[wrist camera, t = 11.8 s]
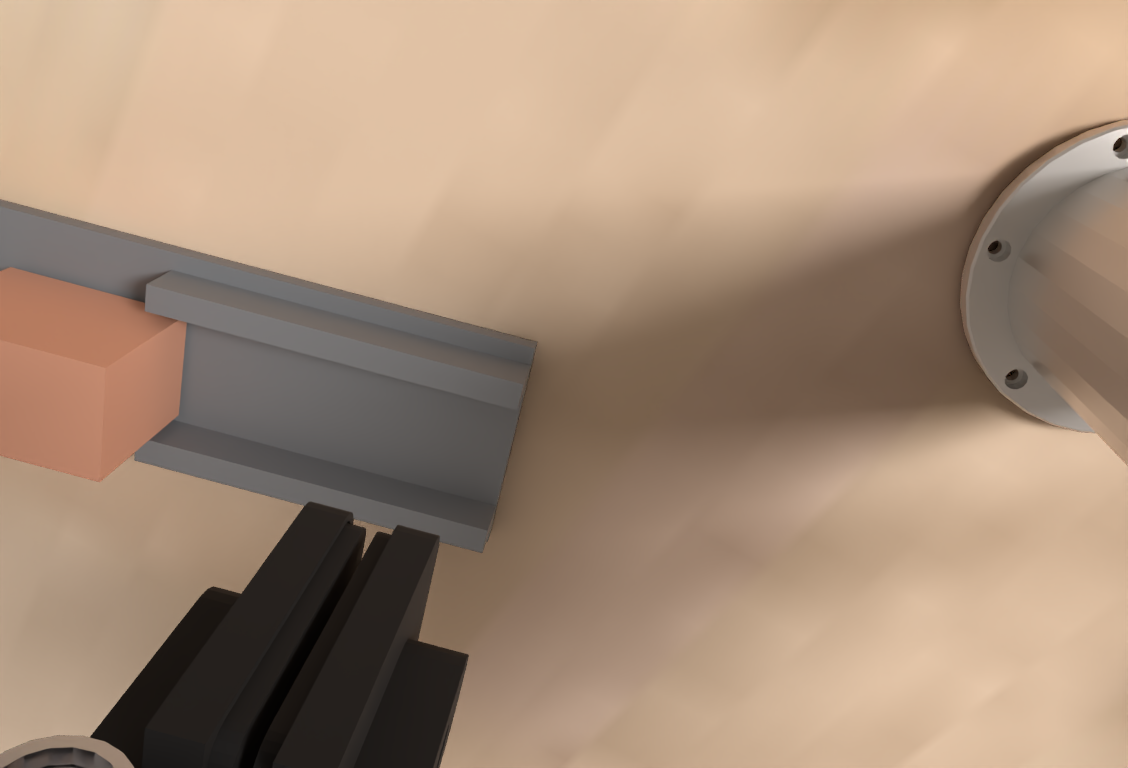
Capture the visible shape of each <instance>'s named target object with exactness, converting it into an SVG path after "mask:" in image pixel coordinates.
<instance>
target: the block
mask: <svg viewBox="0 0 1128 768" xmlns="http://www.w3.org/2000/svg"><path fill="white" fill-rule="evenodd" d="M186 326H187V322H183V321H179V320H176V319H172V318H168V317H164V316H161V315H157V314H153V313H149V312H146V311H145V303H144V302H140V301H136V300H132V299H129V298H125V297H121V296H117V295H114V294H110V293H106V292H102V291H99V290H95V289H91V288H87V287H84V286H80V285H76V284H72V283H69V282H65V281H61V280H57V279H54V278H50V277H46V276H42V275H39V274H35V273H31V272H27V271H24V270H20V269H16V268H12V267H9V268H7V269H4V270H2V271H0V456H4V457H8V458H11V459H15V460H19V461H23V462H26V463H30V464H34V465H38V466H41V467H45V468H49V469H53V470H56V471H60V472H64V473H68V474H71V475H75V476H79V477H82V478H86V479H90V480H94V481H97V482H100V481H102V480H103V479H104V478H105V477H106V476H108V475H109V474H110V473H111V472H112V471H113V470H115V469H116V468H117V467H118V466H119V465H120V464H122V463H123V462H124V461H125V460H126V459H128V458H129V457H130V456H131V455H132V454H133V453H135V452H136V451H137V450H138V449H139V448H140V447H142V446H143V445H144V444H145V443H146V442H148V441H149V440H150V439H151V438H152V437H153V436H155V435H156V434H157V433H158V432H159V431H160V430H162V429H163V428H164V427H165V426H166V425H168V424H169V423H170V422H171V421H172V420H173V419H175V418H176V417H177V416H178V415H179V406H180V395H181V383H182V372H183V360H184V349H185V338H186Z"/></svg>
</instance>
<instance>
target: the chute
mask: <svg viewBox="0 0 1128 768" xmlns="http://www.w3.org/2000/svg"><path fill="white" fill-rule="evenodd" d="M9 267H12V268H16V269H20V270H24V271H27V272H31V273H35V274H39V275H42V276H46V277H50V278H54V279H57V280H61V281H65V282H69V283H72V284H76V285H80V286H84V287H87V288H91V289H95V290H99V291H102V292H106V293H110V294H114V295H117V296H121V297H125V298H129V299H132V300H136V301H140V302H144V303H145V311H146V312H149V313H153V314H157V315H161V316H164V317H168V318H172V319H176V320H179V321H183V322H187V326H186V338H185V349H184V360H183V372H182V383H181V395H180V406H179V415H178V416H177V417H176V418H175V419H173V420H172V421H171V422H170V423H169V424H168V425H166V426H165V427H164V428H163V429H162V430H160V431H159V432H158V433H157V434H156V435H155V436H153V437H152V438H151V439H150V440H149V441H148V442H146V443H145V444H144V445H143V446H142V447H140V448H139V449H138V450H137V451H136V452H135V458H134V460H135V461H139V462H143V463H146V464H150V465H154V466H158V467H161V468H165V469H169V470H173V471H176V472H180V473H184V474H188V475H191V476H195V477H199V478H203V479H206V480H210V481H214V482H218V483H221V484H225V485H229V486H233V487H236V488H240V489H244V490H248V491H251V492H255V493H259V494H263V495H266V496H270V497H274V498H278V499H281V500H285V501H289V502H292V503H296V504H300V505H304V506H305V505H306V504H307V503H308V502H311V501H312V502H315V503H319V504H323V505H327V506H330V507H334V508H338V509H342V510H345V511H349V512H352V513H353V519H356V520H360V521H364V522H367V523H371V524H375V525H379V526H382V527H386V528H390V529H395V528H396V526H397V525H401V526H405V527H409V528H413V529H416V530H420V531H424V532H428V533H431V534H435V535H439V536H440V542H442V543H446V544H450V545H454V546H457V547H461V548H465V549H469V550H472V551H476V552H480V553H482V552H483V549H484V546H485V543H486V542H487V541H488V538H489V535H490V532H491V528H492V524H493V520H494V516H495V512H496V508H497V504H498V500H499V496H500V492H501V488H502V484H503V480H504V476H505V472H506V468H507V463H508V459H509V455H510V451H511V447H512V443H513V439H514V435H515V431H516V427H517V423H518V419H519V415H520V411H521V407H522V403H523V399H524V395H525V391H526V386H527V382H528V378H529V374H530V370H531V366H532V362H533V358H534V354H535V350H536V346H537V342H535V341H531V340H527V339H523V338H520V337H516V336H512V335H508V334H505V333H501V332H497V331H493V330H489V329H486V328H482V327H478V326H474V325H471V324H467V323H463V322H459V321H456V320H452V319H448V318H444V317H441V316H437V315H433V314H429V313H426V312H422V311H418V310H414V309H410V308H407V307H403V306H399V305H395V304H392V303H388V302H384V301H380V300H377V299H373V298H369V297H365V296H362V295H358V294H354V293H350V292H347V291H343V290H339V289H335V288H331V287H328V286H324V285H320V284H316V283H313V282H309V281H305V280H301V279H298V278H294V277H290V276H286V275H283V274H279V273H275V272H271V271H267V270H264V269H260V268H256V267H252V266H249V265H245V264H241V263H237V262H234V261H230V260H226V259H222V258H219V257H215V256H211V255H207V254H204V253H200V252H196V251H192V250H188V249H185V248H181V247H177V246H173V245H170V244H166V243H162V242H158V241H155V240H151V239H147V238H143V237H140V236H136V235H132V234H128V233H124V232H121V231H117V230H113V229H109V228H106V227H102V226H98V225H94V224H91V223H87V222H83V221H79V220H76V219H72V218H68V217H64V216H61V215H57V214H53V213H49V212H45V211H42V210H38V209H34V208H30V207H27V206H23V205H19V204H15V203H12V202H8V201H4V200H0V271H2V270H4V269H7V268H9Z"/></svg>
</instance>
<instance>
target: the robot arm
mask: <svg viewBox="0 0 1128 768" xmlns="http://www.w3.org/2000/svg"><path fill="white" fill-rule="evenodd" d="M1118 138H1121V140H1122V143H1121V146H1120V147H1119V148H1118V149H1116V150H1113V146H1114V143H1115V142H1116V140H1117V139H1118ZM994 241H998V247H997V248H996V249H995V250H993V251H988V247H989V246H990V244H991V243H992V242H994ZM960 309H961V315H962V322H963V328H964V333H965V336H966V338H967V341H968V344H969V346H970V349H971V351H972V354H973V356H974V358H975V360H976V361H977V363H978V364H979V365H980V367H981V368H982V370H983V371H984V373H985V374H986V376H987V377H988V379H989V380H990V381H991V382H992V383H993V385H994V386H995V387H996V388H997V389H998V390H999V392H1000V393H1001V394H1002V395H1003V396H1005V397H1006V398H1007V399H1009V400H1010V401H1011V402H1013V403H1014V404H1015V405H1016V406H1018V407H1019V408H1020V409H1022V410H1023V411H1024V412H1026V413H1028V414H1030V415H1032V416H1034V417H1036V418H1038V419H1040V420H1042V421H1045V422H1047V423H1049V424H1051V425H1055V426H1058V427H1062V428H1066V429H1070V430H1073V431H1077V432H1085V433H1096V434H1097V435H1098V436H1099V437H1100V438H1101V439H1102V440H1103V441H1104V442H1105V443H1106V444H1107V445H1108V446H1109V447H1110V448H1111V449H1112V450H1113V451H1114V452H1115V453H1116V454H1117V455H1118V456H1119V457H1120V458H1121V459H1122V460H1123V462H1124V463H1125V464H1126V465H1127V466H1128V120H1121V121H1118V122H1115V123H1111V124H1108V125H1105V126H1101V127H1098V128H1095V129H1092V130H1088V131H1086V132H1084V133H1082V134H1080V135H1078V136H1076V137H1074V138H1072V139H1070V140H1068V141H1066V142H1064V143H1062V144H1060V145H1058V146H1056V147H1054V148H1053V149H1052V150H1050V151H1049V152H1047V153H1046V154H1045V155H1043V156H1042V157H1040V158H1039V159H1038V160H1036V161H1035V162H1033V163H1032V164H1031V165H1029V166H1028V167H1027V168H1026V169H1025V170H1024V171H1023V172H1022V173H1021V174H1020V175H1019V176H1018V177H1017V178H1016V179H1015V180H1014V181H1013V182H1012V183H1011V184H1009V185H1008V186H1007V187H1006V188H1005V189H1004V190H1003V191H1002V193H1001V194H1000V196H999V197H998V198H997V200H996V201H995V203H994V204H993V205H992V207H991V208H990V210H989V211H988V212H987V214H986V215H985V217H984V218H983V220H982V222H981V224H980V226H979V228H978V230H977V232H976V234H975V237H974V239H973V241H972V243H971V245H970V247H969V251H968V254H967V258H966V262H965V266H964V269H963V273H962V279H961V295H960ZM1014 369H1015V372H1014V374H1013V375H1011V376H1006V375H1007V374H1008V373H1009V372H1010V371H1012V370H1014ZM365 537H366V529H365V528H364V527H360V526H356V525H353V513H352V512H349V511H345V510H342V509H338V508H334V507H330V506H327V505H323V504H319V503H315V502H312V501H311V502H308V503H307V504H306V505H305V506H304V508H303V509H302V510H301V512H300V513H299V515H298V516H297V517H296V519H295V520H294V521H293V523H292V524H291V526H290V527H289V528H288V530H287V531H286V533H285V534H284V535H283V537H282V538H281V540H280V541H279V542H278V544H277V545H276V546H275V548H274V549H273V551H272V552H271V553H270V555H269V556H268V558H267V559H266V560H265V562H264V563H263V565H262V566H261V567H260V569H259V570H258V572H257V573H256V574H255V576H254V577H253V578H252V580H251V581H250V583H249V584H248V585H247V587H246V588H245V590H244V591H243V592H242V594H240V593H236V592H232V591H228V590H225V589H221V588H217V587H211V588H209V589H207V590H206V591H205V592H204V593H203V594H202V595H201V596H200V598H199V599H198V600H197V601H196V603H195V604H194V605H193V607H192V608H191V609H190V610H189V612H188V613H187V614H186V616H185V617H184V618H183V619H182V621H181V622H180V623H179V624H178V626H177V627H176V628H175V630H174V631H173V632H172V633H171V635H170V636H169V637H168V638H167V640H166V641H165V642H164V644H163V645H162V646H161V647H160V649H159V650H158V651H157V652H156V654H155V655H154V656H153V658H152V659H151V660H150V661H149V663H148V664H147V665H146V666H145V668H144V669H143V670H142V672H141V673H140V674H139V675H138V677H137V678H136V679H135V680H134V682H133V683H132V684H131V686H130V687H129V688H128V689H127V691H126V692H125V693H124V694H123V696H122V697H121V698H120V700H119V701H118V702H117V703H116V705H115V706H114V707H113V709H112V710H111V711H110V712H109V714H108V715H107V716H106V717H105V719H104V720H103V721H102V723H101V724H100V725H99V726H98V728H97V729H96V730H95V731H94V733H93V734H92V735H91V737H86V736H65V735H57V736H52V737H46V738H41V739H36V740H31V741H28V742H26V743H23V744H21V745H19V746H16V747H14V748H11V749H9V750H6V751H4V752H3V753H2V754H0V768H439V767H440V764H441V760H442V757H443V753H444V750H445V746H446V743H447V739H448V736H449V732H450V728H451V725H452V721H453V717H454V713H455V709H456V706H457V702H458V698H459V694H460V690H461V686H462V682H463V678H464V674H465V670H466V666H467V661H468V657H469V655H468V654H464V653H460V652H456V651H453V650H449V649H445V648H441V647H438V646H434V645H430V644H427V643H423V642H419V641H418V638H419V633H420V629H421V624H422V620H423V615H424V611H425V606H426V602H427V597H428V593H429V588H430V584H431V579H432V575H433V570H434V566H435V561H436V557H437V552H438V548H439V542H440V536H439V535H435V534H431V533H428V532H424V531H420V530H416V529H413V528H409V527H405V526H401V525H397V526H396V528H395V529H394V531H393V533H392V535H390V534H386V533H382V532H377V533H376V535H375V536H374V538H373V540H372V542H371V544H370V545H369V547H368V549H367V551H366V553H365V555H364V556H363V558H362V553H363V548H364V543H365ZM361 559H362V560H361Z"/></svg>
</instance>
